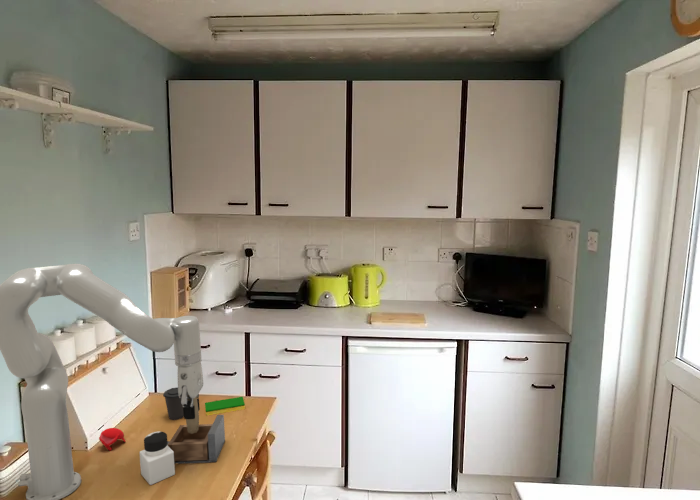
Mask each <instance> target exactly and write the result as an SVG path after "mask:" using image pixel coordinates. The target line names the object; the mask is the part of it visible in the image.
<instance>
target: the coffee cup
mask: <svg viewBox="0 0 700 500" xmlns="http://www.w3.org/2000/svg"><path fill="white" fill-rule="evenodd" d="M162 395H163V398H164V400H165V404H166V409H167V415H168V419H169V420H170V421H177V420H182V419H184V412H183V405H182V404H181V400H182V399H181V398H179V394H178V386H177V387H171V388H169V389H166V390H165V391H164V393H163V394H162Z"/></svg>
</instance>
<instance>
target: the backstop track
mask: <svg viewBox="0 0 700 500" xmlns="http://www.w3.org/2000/svg"><path fill="white" fill-rule="evenodd" d="M212 424H213V425H212V427H211V429H210V431H209V433H208V448H209V458H208V460H192V461H174V463H175V465H179V464H181V465H182V464H183V465H185V464H204V463H205V464H206V463H210V464H211V463H217V461H218V460H219V456H220V454H221V452H222V449H223V448H224V445H225V442H226V435H225V433H226V432H225V431H226V430H225V416H224V414H216V417H215V419H214V420H213V423H212ZM167 442H168V444H169V442H170V440H167Z"/></svg>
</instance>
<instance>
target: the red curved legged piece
mask: <svg viewBox="0 0 700 500" xmlns="http://www.w3.org/2000/svg"><path fill="white" fill-rule="evenodd" d="M98 440H99V442H100V443H102V446H104V447H105V448H106V449H107V450H108V451H109V452H110V451H113V448H112V445H114V443H116V442H117V441H118V440H121V441H123V442H124V443H126V441H127V440H126V439H125V433H124V432H123V431H122V430H121V429H119V428H116V427H108V428H105V429H104V430H102V432H101V433H100V435H99V437H98Z"/></svg>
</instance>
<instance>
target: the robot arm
mask: <svg viewBox="0 0 700 500" xmlns="http://www.w3.org/2000/svg"><path fill="white" fill-rule="evenodd" d="M54 296H55V297H56V296H63V298H65V299H68V300H69V301H71V302H73V303H74V304H76V305H78V306H80V307H82V308H83V309H85V310H87V311H88V312H90V313H92V315H95V316H97V317H98V318H101V319H102V320H103V321H105V322H107V324H109V325H110V326H111V327H113V328H115V329H116V330H117V331H119V332H121V334H122V335H125V336H126V337H127V338H128V339H131V340H132V341H133V342H135V343H136V344H138V345H140V346H142V347H144V348H146V349H147V350H150V351H151V352H154V353H164V352H167V351H168V350H169V349H171V348H172V347H173V351H174V365H175V366H177V387H178V394H179V398H181V399H182V400H181V404H182V405H183V412H184V417H183V419H184V420H186V419H195V406H193V398H195V397H196V396H197V403H198V410H199V411H200V409H201V407H200V392H201V391H202V389H203V387H204V378H203V377H204V376H203V368H202V367H203V366H202V349H201V348H202V347H201V330H200V320H199V319H198V317H197V316H196V315H195V316H194V315H183V316H179V317H158V318H157V317H156V318H152V317H151V316H149V315H148V314H146V312H144V311H143V310H141V309H140V308H139V307H138V306H137V305H136V304H135V303H134V302H133V300H132V299H131V298H130V297H129V296H128V295H126V294H125V293H124V292H122V291H121V290H119V289H117V288H116V287H114V286H112V285H111V284H109V283H108V282H106V281H104V280H103V279H101V278H100V277H98V276H97V275H95V274H94V273H93V270H92V269H91V268H90V267H89V266H87V265H85V264H82V263H67V264H57V265H49V266H47V265H46V266H37V267H27V268H23V269H20V270H18V271H16V272H14V273H13V274H12V275H10V276H8V277H7V278H6V279H5V280H4V281H3V282H2V283H0V354H1V355H2V357H3V359H4V362H5V364H6V367H7V369H8V370H9V372H10V373H11V374H12V375H14V376H15V377H17V378H19V379H24V380H25V382H26V386H25V388H24V390H23V393H22V397H21V412H22V413H21V414H22V417H23V420H24V426H25V427H24V428H25V435H26V442H27V443H26V444H27V449H28V450H27V451H28V459H29V469H30V470H29V471H30V473H21V474H20V476H19V481H18V484H17V485H18V487H24V486H25V487H26V486H27V490H26V492H25V498H26V500H61V499H64V498H65V497H67V496H69V495H70V494H72V493H73V492H75V491H76V490H77V489H78V488H79V487H80V486H81V483H82V477H81V474H80V473H78V471H77V472H76V471H74V460H73V452H72V451H73V450H72V443H71V431H70V422H69V414H68V407H67V393H68V392H67V391H68V387H69V377H68V372H67V370H66V369H65V366H64V364H63V362H62V360H61V357H60V355H59V353H58V351H57V348H56V345H55V343H54V342H53V341H52V339H50V337H49V336H47V335H46V334H44V333H41V332H38V331H37V329H36V326H35V323H34V321H33V319H32V317H31V316H30V315H29V308H30V307H31V306H32V305H33V304H35V302H37V301H38V300H39V299H40V298H46V297H54ZM187 395H189V396H187ZM187 399H190V401H188V400H187Z"/></svg>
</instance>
